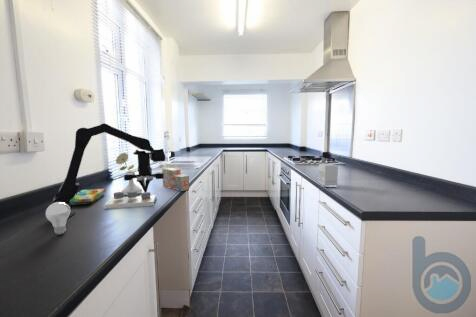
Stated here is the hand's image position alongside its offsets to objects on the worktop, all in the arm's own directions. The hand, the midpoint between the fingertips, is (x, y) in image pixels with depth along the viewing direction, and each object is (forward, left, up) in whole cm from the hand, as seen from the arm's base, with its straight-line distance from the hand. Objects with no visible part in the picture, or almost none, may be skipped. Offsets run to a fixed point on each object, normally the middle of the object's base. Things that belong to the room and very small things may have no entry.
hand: (145, 192), depth 117 cm
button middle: (0, +6, -2) cm, 7 cm away
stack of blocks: (+27, -14, -6) cm, 31 cm away
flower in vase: (+17, +12, -5) cm, 21 cm away
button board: (-1, +7, -5) cm, 8 cm away
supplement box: (+7, -113, -6) cm, 114 cm away
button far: (0, 0, -3) cm, 3 cm away
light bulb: (-33, +24, -5) cm, 41 cm away
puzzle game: (+10, +32, -6) cm, 34 cm away
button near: (0, +13, -2) cm, 13 cm away
